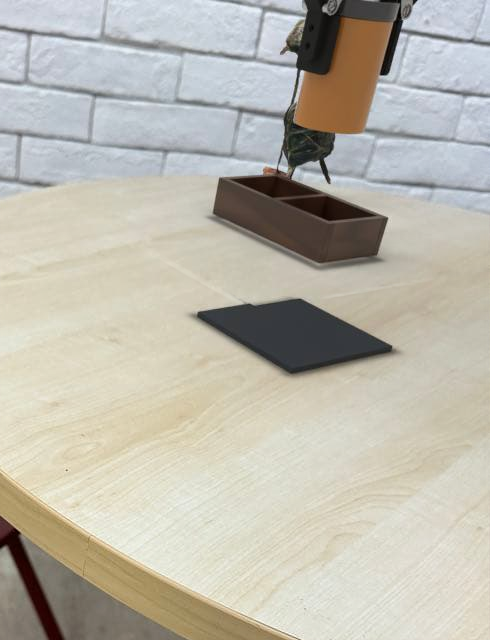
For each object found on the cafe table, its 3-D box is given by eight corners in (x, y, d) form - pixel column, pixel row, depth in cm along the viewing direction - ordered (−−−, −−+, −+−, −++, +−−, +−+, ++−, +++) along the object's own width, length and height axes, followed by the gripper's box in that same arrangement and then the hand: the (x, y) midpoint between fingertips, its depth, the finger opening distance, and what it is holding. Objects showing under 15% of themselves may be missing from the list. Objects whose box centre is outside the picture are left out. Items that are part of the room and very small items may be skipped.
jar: (328, 117, 75) (358, -6, 69) (381, 134, 71) (417, 5, 65) (276, 118, 72) (303, -10, 67) (328, 135, 68) (361, 0, 63)
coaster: (294, 300, 81) (295, 295, 80) (391, 351, 73) (393, 346, 73) (196, 316, 75) (197, 311, 74) (290, 373, 67) (292, 368, 67)
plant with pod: (321, 209, 109) (368, 29, 97) (235, 193, 111) (270, 15, 99) (328, 195, 115) (373, 24, 103) (246, 180, 117) (281, 11, 105)
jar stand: (268, 212, 105) (276, 173, 102) (376, 260, 94) (388, 217, 91) (211, 218, 100) (218, 177, 98) (317, 268, 89) (329, 223, 86)
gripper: (366, -249, 52) (295, 80, 63) (536, -203, 60) (447, 82, 71) (284, -242, 57) (231, 62, 67) (451, -200, 65) (380, 65, 76)
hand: (342, 70), depth 69 cm, fingers closed on jar, 6 cm apart
